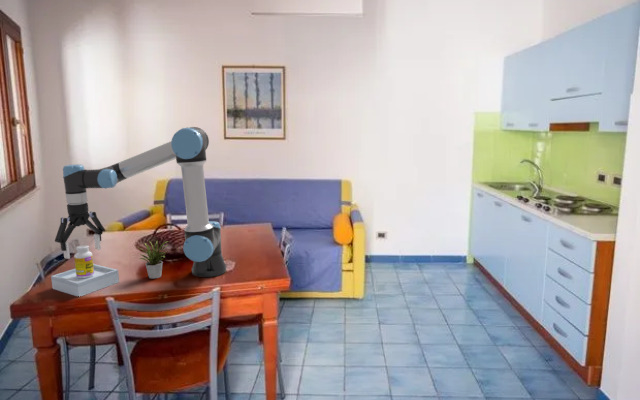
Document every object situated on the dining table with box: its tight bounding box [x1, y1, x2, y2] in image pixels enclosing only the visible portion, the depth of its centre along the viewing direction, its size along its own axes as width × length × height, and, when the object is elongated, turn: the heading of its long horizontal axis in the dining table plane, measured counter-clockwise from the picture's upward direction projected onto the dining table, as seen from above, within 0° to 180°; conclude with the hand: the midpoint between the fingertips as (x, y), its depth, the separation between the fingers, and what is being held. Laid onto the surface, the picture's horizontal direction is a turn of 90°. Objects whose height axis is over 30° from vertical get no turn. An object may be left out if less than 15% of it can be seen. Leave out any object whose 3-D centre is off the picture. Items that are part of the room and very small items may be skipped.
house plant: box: [136, 240, 169, 279], centre depth 199 cm, size 14×14×16 cm
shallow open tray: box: [50, 263, 120, 298], centre depth 190 cm, size 18×18×6 cm
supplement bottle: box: [73, 244, 94, 279], centre depth 188 cm, size 7×7×13 cm
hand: (83, 253), depth 188 cm, fingers open, 13 cm apart
